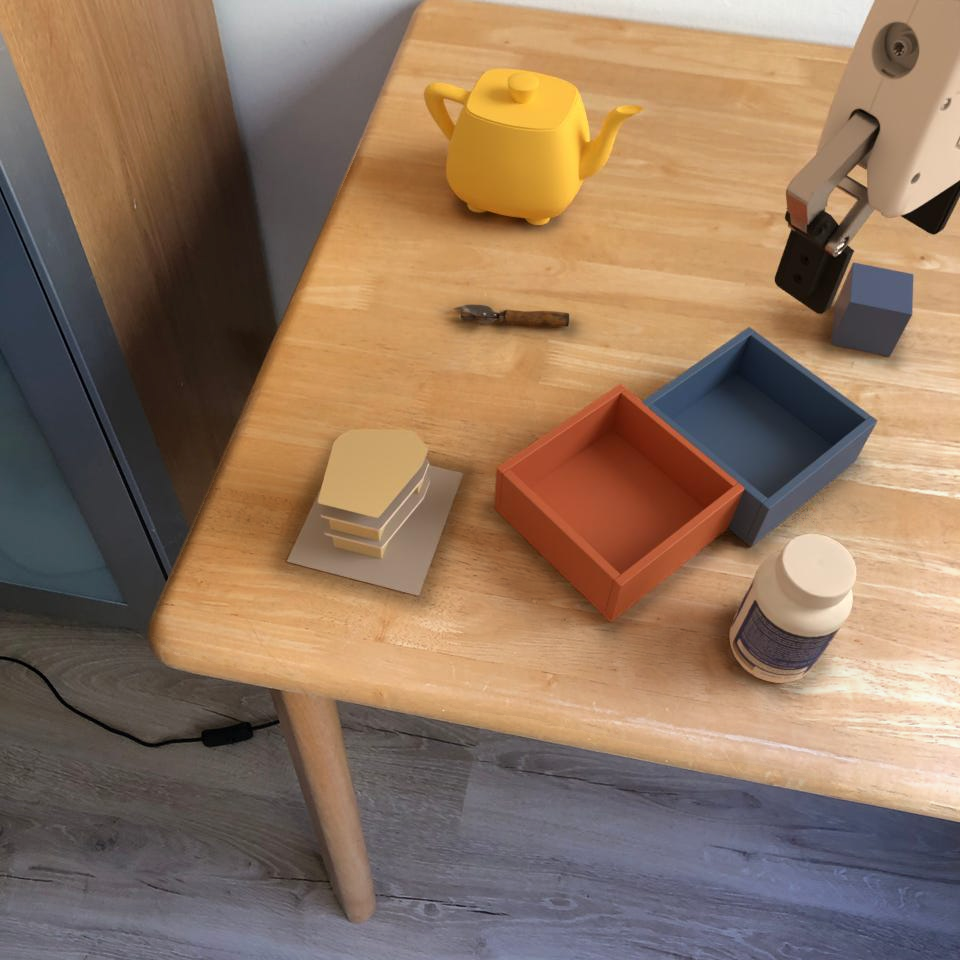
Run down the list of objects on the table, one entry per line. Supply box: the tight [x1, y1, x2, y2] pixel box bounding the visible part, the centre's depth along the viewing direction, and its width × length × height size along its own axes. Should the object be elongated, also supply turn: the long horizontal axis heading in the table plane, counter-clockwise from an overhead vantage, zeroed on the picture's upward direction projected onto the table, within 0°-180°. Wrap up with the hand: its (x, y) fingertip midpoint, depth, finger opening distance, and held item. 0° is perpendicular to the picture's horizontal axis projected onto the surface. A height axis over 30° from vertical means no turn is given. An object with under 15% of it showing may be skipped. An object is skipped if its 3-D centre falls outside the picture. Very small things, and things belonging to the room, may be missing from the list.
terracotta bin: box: [493, 383, 745, 623], centre depth 63 cm, size 11×11×5 cm
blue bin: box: [641, 326, 878, 548], centre depth 66 cm, size 11×11×5 cm
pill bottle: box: [728, 533, 857, 684], centre depth 56 cm, size 5×5×10 cm
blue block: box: [830, 262, 915, 357], centre depth 74 cm, size 4×4×4 cm
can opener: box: [453, 303, 570, 328], centre depth 75 cm, size 9×2×1 cm, turn 80°
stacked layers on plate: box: [286, 428, 464, 597], centre depth 62 cm, size 10×9×6 cm
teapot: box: [423, 68, 644, 226], centre depth 80 cm, size 18×11×11 cm, turn 73°
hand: (859, 257), depth 51 cm, fingers open, 9 cm apart
